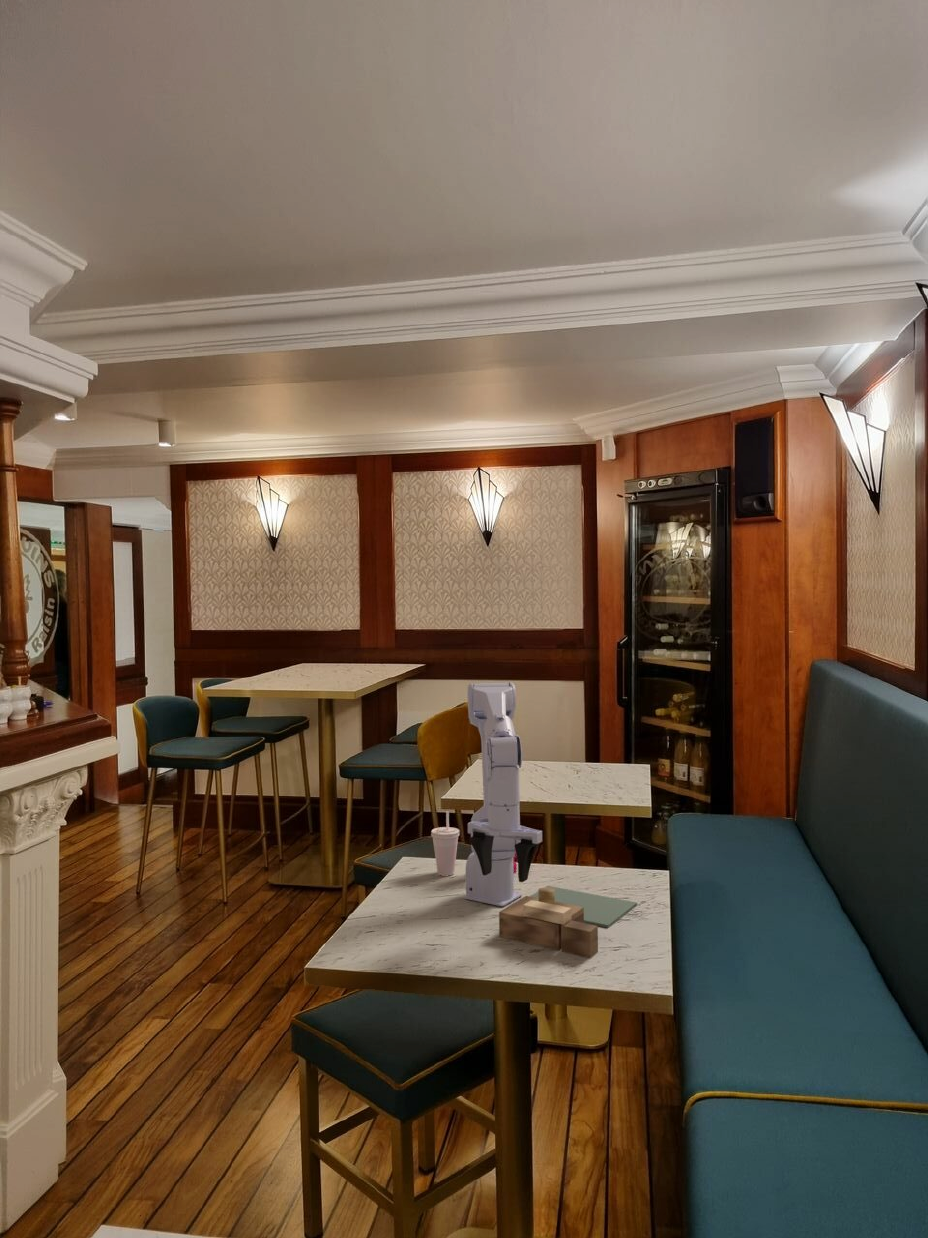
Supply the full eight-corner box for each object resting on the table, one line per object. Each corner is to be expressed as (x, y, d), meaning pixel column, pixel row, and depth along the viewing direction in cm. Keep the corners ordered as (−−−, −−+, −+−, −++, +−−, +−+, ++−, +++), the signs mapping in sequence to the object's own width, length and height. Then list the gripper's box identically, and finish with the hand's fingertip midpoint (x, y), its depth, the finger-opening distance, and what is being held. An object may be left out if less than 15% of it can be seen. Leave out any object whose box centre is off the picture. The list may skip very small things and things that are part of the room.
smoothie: (456, 879, 190) (456, 815, 190) (428, 877, 191) (427, 814, 191) (462, 870, 196) (461, 808, 196) (435, 868, 198) (434, 807, 197)
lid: (499, 917, 157) (498, 895, 157) (526, 901, 165) (526, 880, 165) (558, 930, 150) (558, 907, 150) (583, 912, 159) (583, 891, 158)
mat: (514, 908, 171) (514, 905, 171) (547, 888, 183) (547, 885, 183) (608, 928, 160) (608, 925, 160) (637, 905, 172) (637, 902, 172)
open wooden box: (499, 936, 157) (499, 912, 157) (526, 919, 165) (526, 895, 165) (590, 958, 147) (590, 931, 147) (614, 938, 155) (614, 913, 155)
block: (523, 916, 154) (523, 905, 154) (531, 911, 157) (531, 900, 157) (563, 924, 150) (563, 913, 150) (571, 919, 152) (571, 908, 152)
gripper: (458, 802, 158) (459, 876, 158) (528, 812, 150) (529, 890, 151) (478, 795, 164) (479, 866, 164) (547, 804, 156) (548, 878, 157)
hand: (504, 877), depth 158 cm, fingers open, 7 cm apart
